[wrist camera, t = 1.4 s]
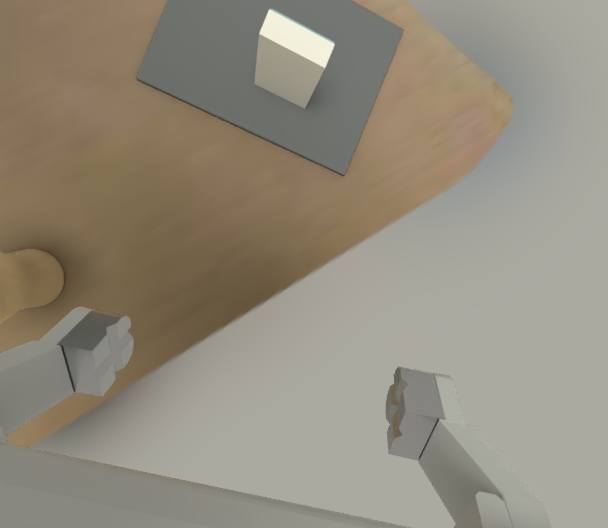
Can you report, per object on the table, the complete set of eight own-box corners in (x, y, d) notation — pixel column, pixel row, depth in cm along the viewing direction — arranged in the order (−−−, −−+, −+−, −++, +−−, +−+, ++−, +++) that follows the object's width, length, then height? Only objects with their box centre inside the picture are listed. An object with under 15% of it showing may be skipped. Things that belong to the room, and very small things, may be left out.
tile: (253, 83, 41) (259, 33, 31) (262, 63, 41) (270, 6, 31) (304, 108, 42) (325, 68, 32) (312, 88, 42) (335, 41, 32)
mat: (137, 80, 39) (135, 77, 39) (203, -79, 39) (202, -84, 39) (343, 175, 44) (344, 175, 43) (401, 32, 44) (403, 29, 43)
